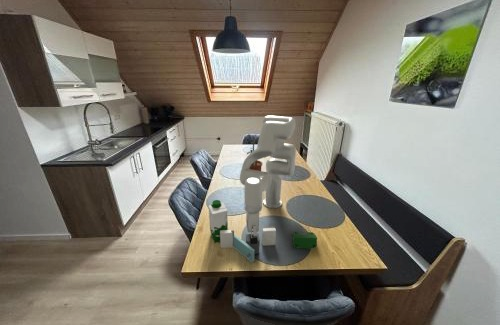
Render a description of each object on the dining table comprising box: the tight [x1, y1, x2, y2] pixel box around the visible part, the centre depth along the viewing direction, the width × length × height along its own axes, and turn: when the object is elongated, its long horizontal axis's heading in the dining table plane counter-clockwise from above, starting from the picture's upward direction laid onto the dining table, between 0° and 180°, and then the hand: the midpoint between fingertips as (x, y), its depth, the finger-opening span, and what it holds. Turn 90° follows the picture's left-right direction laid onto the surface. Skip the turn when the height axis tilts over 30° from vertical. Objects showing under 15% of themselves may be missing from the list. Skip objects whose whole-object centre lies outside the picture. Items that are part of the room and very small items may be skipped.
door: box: [233, 234, 255, 263], centre depth 98 cm, size 2×13×7 cm, turn 44°
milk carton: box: [208, 199, 229, 244], centre depth 107 cm, size 9×9×20 cm
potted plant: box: [246, 137, 266, 171], centre depth 164 cm, size 17×16×35 cm
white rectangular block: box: [219, 227, 277, 249], centre depth 104 cm, size 2×27×9 cm, turn 95°
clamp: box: [292, 231, 318, 250], centre depth 106 cm, size 12×6×9 cm, turn 84°
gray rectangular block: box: [245, 233, 261, 255], centre depth 101 cm, size 4×6×8 cm
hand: (252, 235), depth 98 cm, fingers open, 9 cm apart
